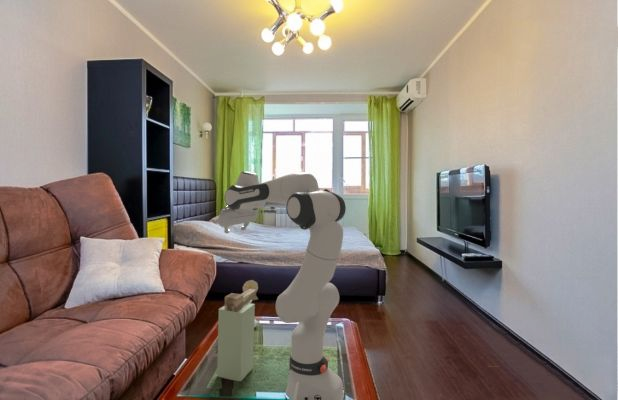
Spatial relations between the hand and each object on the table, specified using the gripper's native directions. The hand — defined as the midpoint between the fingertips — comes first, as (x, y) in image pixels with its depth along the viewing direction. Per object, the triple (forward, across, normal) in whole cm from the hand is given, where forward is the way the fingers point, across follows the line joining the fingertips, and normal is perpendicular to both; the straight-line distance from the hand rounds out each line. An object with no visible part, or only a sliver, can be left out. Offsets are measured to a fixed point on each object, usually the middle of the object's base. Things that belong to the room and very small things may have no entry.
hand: (234, 231), depth 157 cm
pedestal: (+37, -19, -42) cm, 59 cm away
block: (+14, -14, -30) cm, 36 cm away
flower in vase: (+50, +9, -16) cm, 53 cm away
